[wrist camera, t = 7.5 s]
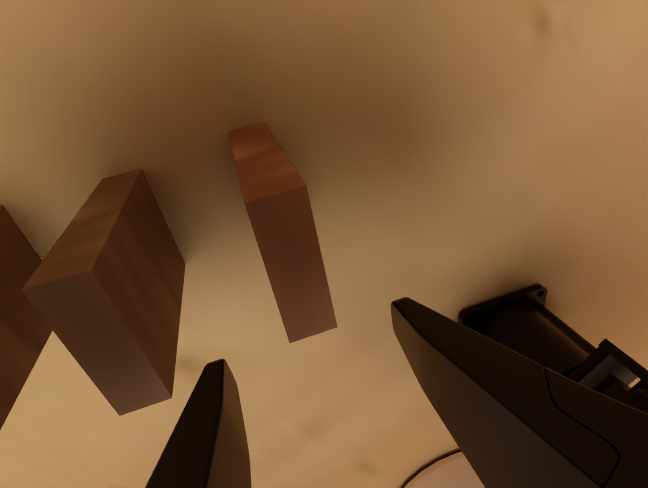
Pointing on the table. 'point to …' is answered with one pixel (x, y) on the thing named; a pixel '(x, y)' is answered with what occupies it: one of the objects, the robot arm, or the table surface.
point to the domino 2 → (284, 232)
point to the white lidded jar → (447, 474)
